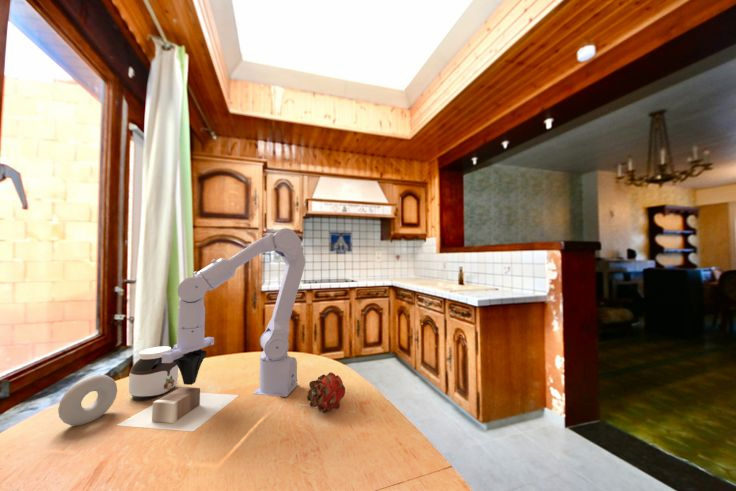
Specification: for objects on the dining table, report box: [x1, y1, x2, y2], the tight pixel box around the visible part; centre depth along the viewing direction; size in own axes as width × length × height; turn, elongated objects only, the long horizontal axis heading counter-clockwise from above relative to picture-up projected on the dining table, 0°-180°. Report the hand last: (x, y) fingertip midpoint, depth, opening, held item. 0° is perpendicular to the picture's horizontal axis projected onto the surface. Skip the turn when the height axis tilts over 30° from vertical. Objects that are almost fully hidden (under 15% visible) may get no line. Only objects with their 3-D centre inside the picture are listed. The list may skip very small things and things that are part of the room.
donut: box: [57, 374, 118, 427], centre depth 63 cm, size 10×4×10 cm, turn 161°
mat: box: [115, 392, 240, 433], centre depth 67 cm, size 18×16×1 cm
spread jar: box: [128, 345, 179, 401], centre depth 77 cm, size 12×11×12 cm
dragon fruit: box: [306, 372, 346, 413], centre depth 69 cm, size 8×8×12 cm
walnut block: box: [152, 386, 201, 423], centre depth 65 cm, size 5×4×8 cm
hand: (189, 383), depth 69 cm, fingers closed
